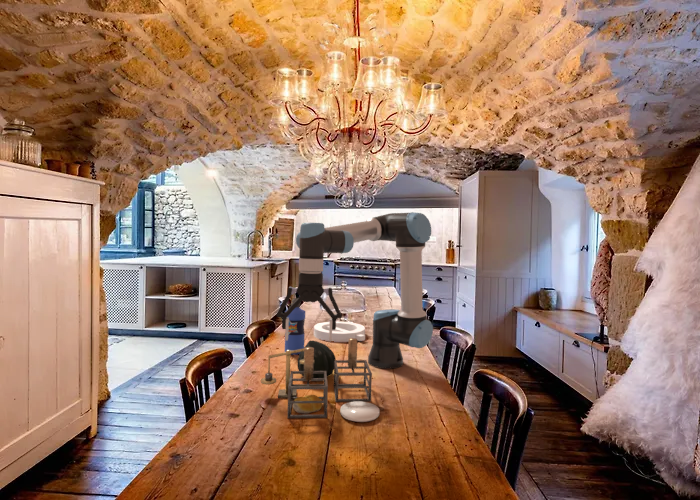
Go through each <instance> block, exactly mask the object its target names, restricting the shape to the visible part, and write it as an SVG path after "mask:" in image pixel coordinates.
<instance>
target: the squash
mask: <svg viewBox="0 0 700 500" xmlns="http://www.w3.org/2000/svg"><path fill="white" fill-rule="evenodd" d="M306 347H313V348H314V365H313V371H326V374H327V377H330V376H331V375H333V374H334V360H336V356H335V354H334V353H335V352H333V351H332V349H330V347H329V346H328V345H326V344H325V343H322V342H320V341H316V340H308V341H307V343H306V345H304V348H306ZM301 359H304V351H302V352H301V353H300V354H299V355H298V357H297V371H304V365H302V364H300V360H301ZM300 375H301V376H302V378H304V374H300ZM313 378H324V374H313Z"/></svg>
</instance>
